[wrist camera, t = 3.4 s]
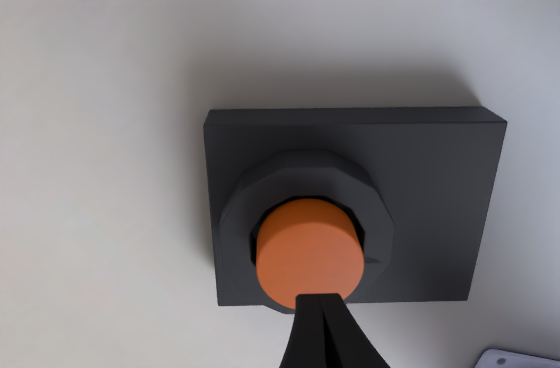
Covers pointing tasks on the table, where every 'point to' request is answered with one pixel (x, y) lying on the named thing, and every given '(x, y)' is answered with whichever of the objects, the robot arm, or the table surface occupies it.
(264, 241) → the power button
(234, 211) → the push button base
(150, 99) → the table surface
